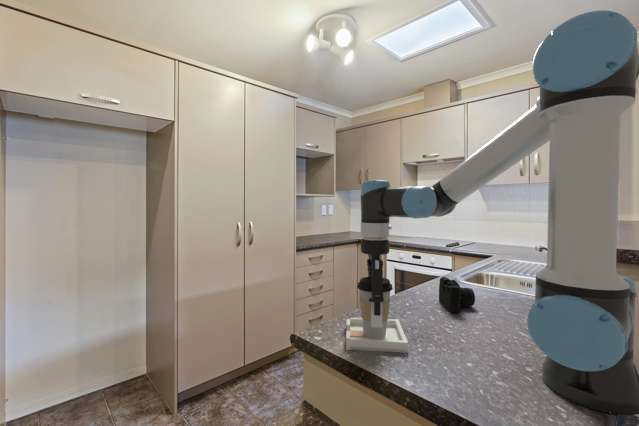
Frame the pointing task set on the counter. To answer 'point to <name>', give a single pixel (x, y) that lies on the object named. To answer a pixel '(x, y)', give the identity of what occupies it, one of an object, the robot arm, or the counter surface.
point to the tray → (390, 343)
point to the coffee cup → (366, 308)
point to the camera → (454, 295)
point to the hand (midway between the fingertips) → (374, 317)
